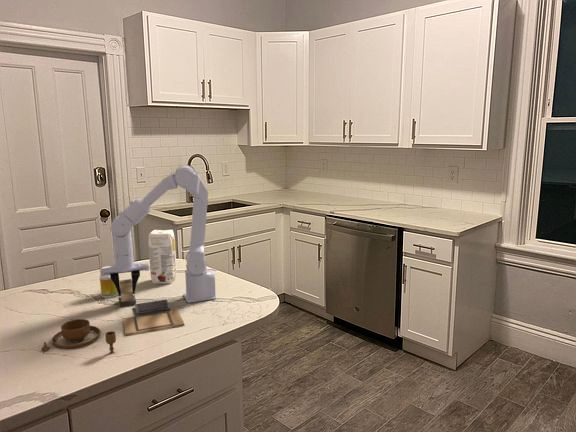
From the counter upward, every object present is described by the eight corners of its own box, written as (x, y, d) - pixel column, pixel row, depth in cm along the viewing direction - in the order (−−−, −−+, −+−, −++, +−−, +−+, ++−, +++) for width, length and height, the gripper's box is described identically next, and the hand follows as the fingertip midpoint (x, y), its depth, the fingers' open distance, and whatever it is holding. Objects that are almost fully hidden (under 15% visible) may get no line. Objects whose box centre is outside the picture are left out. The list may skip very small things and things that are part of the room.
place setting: (108, 325, 130) (107, 306, 129) (121, 355, 113) (119, 333, 112) (40, 339, 122) (38, 319, 121) (43, 374, 105) (40, 351, 104)
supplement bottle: (112, 298, 149) (110, 270, 147) (98, 297, 150) (95, 269, 148) (121, 292, 154) (119, 265, 152) (107, 291, 155) (105, 264, 153)
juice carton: (172, 284, 162) (170, 233, 158) (149, 284, 162) (146, 233, 158) (178, 277, 169) (175, 228, 166) (155, 277, 169) (152, 228, 166)
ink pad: (167, 302, 146) (166, 298, 146) (170, 310, 139) (170, 307, 139) (135, 307, 142) (134, 303, 142) (137, 316, 135) (136, 312, 135)
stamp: (134, 299, 148) (133, 278, 147) (136, 304, 144) (134, 282, 142) (118, 301, 146) (117, 280, 145) (119, 307, 142) (117, 285, 140)
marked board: (177, 311, 139) (177, 308, 139) (184, 325, 129) (184, 323, 129) (123, 320, 133) (123, 317, 132) (125, 335, 123) (125, 333, 122)
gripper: (146, 247, 148) (148, 286, 151) (98, 252, 142) (102, 292, 145) (148, 253, 142) (151, 293, 144) (99, 258, 136) (102, 300, 139)
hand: (126, 293), depth 144 cm, fingers closed on stamp, 4 cm apart
